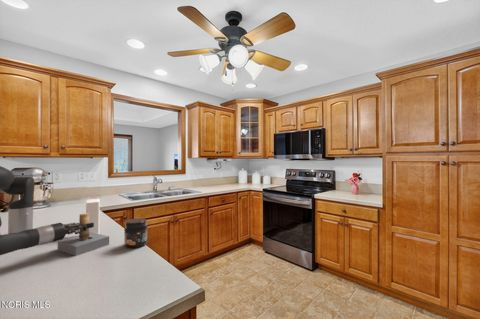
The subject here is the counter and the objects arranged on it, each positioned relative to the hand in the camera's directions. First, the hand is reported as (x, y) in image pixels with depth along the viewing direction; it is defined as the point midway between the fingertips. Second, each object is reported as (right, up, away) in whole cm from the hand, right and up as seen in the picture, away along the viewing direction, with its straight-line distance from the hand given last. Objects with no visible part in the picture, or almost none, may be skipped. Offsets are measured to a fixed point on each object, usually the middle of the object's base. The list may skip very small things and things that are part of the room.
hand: (90, 224), depth 110 cm
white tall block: (-9, -11, +16) cm, 21 cm away
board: (-1, -10, -3) cm, 11 cm away
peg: (-1, -8, -3) cm, 9 cm away
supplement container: (+22, -11, 0) cm, 25 cm away
